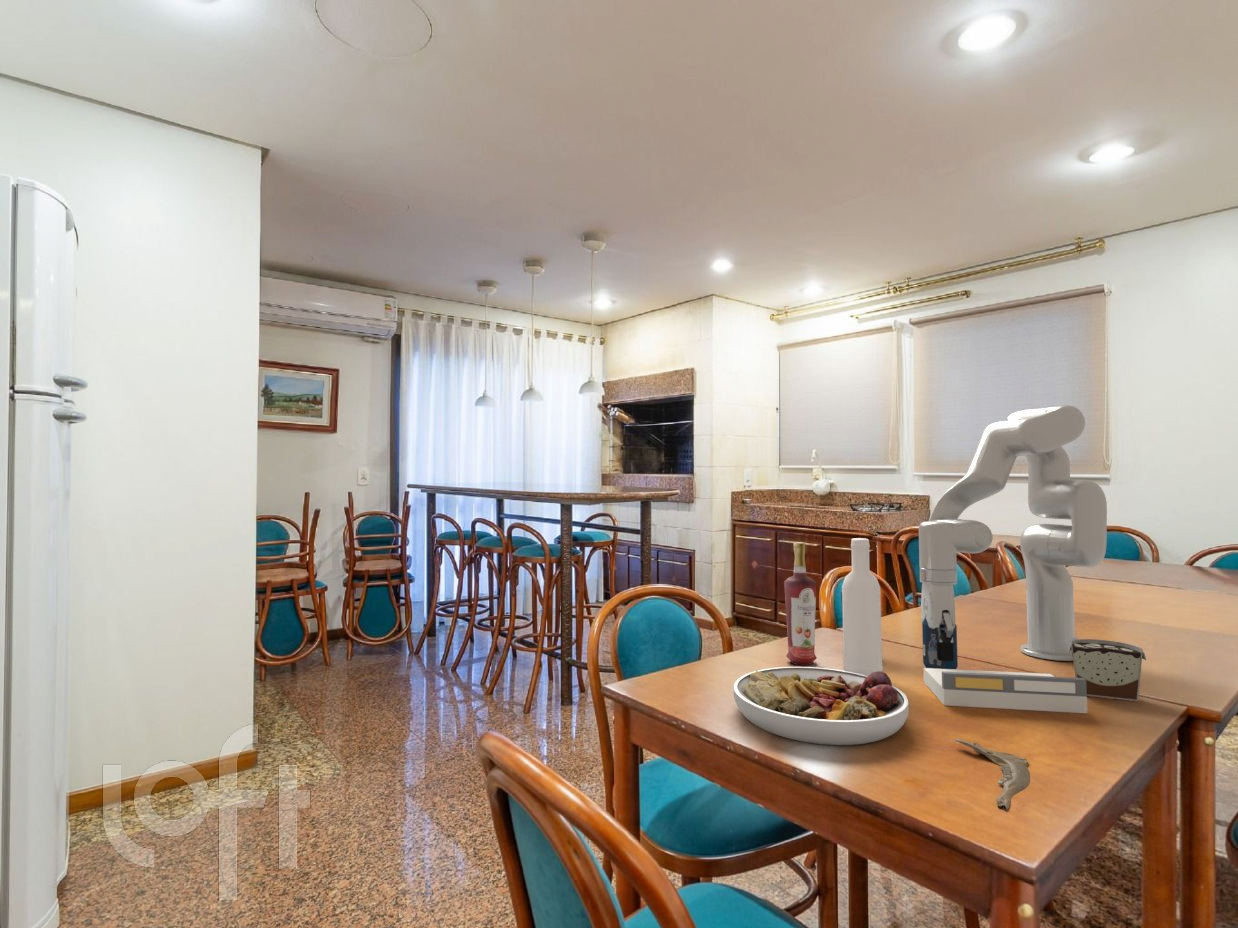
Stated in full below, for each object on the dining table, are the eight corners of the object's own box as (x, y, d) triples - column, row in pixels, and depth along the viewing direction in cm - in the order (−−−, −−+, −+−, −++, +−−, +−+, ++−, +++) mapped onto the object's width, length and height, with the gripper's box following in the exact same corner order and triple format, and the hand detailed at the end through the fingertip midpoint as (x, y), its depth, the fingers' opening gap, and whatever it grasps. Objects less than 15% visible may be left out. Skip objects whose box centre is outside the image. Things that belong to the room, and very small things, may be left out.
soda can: (952, 666, 144) (951, 613, 145) (961, 675, 137) (960, 620, 138) (919, 664, 146) (918, 612, 146) (927, 673, 139) (926, 618, 139)
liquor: (795, 667, 144) (793, 545, 145) (779, 659, 151) (777, 542, 152) (823, 665, 146) (821, 544, 147) (807, 657, 153) (805, 541, 154)
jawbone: (1015, 757, 99) (1016, 744, 99) (1079, 829, 79) (1080, 812, 79) (952, 747, 101) (953, 735, 101) (999, 815, 81) (1000, 799, 81)
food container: (1137, 692, 126) (1135, 641, 126) (1147, 702, 120) (1146, 649, 120) (1062, 684, 131) (1061, 636, 131) (1069, 693, 125) (1068, 642, 126)
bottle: (853, 670, 142) (850, 536, 143) (888, 677, 136) (885, 538, 137) (836, 678, 136) (834, 539, 137) (872, 686, 131) (869, 541, 132)
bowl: (772, 760, 97) (771, 708, 97) (713, 695, 127) (712, 656, 127) (948, 746, 102) (947, 696, 102) (851, 687, 131) (851, 648, 132)
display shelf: (1050, 688, 128) (1049, 658, 128) (1088, 714, 114) (1087, 680, 114) (923, 682, 133) (923, 653, 133) (945, 706, 119) (944, 673, 119)
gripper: (910, 570, 151) (912, 645, 151) (931, 581, 134) (933, 666, 134) (944, 571, 150) (946, 646, 149) (969, 582, 133) (971, 667, 132)
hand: (939, 655), depth 142 cm, fingers closed on soda can, 6 cm apart
